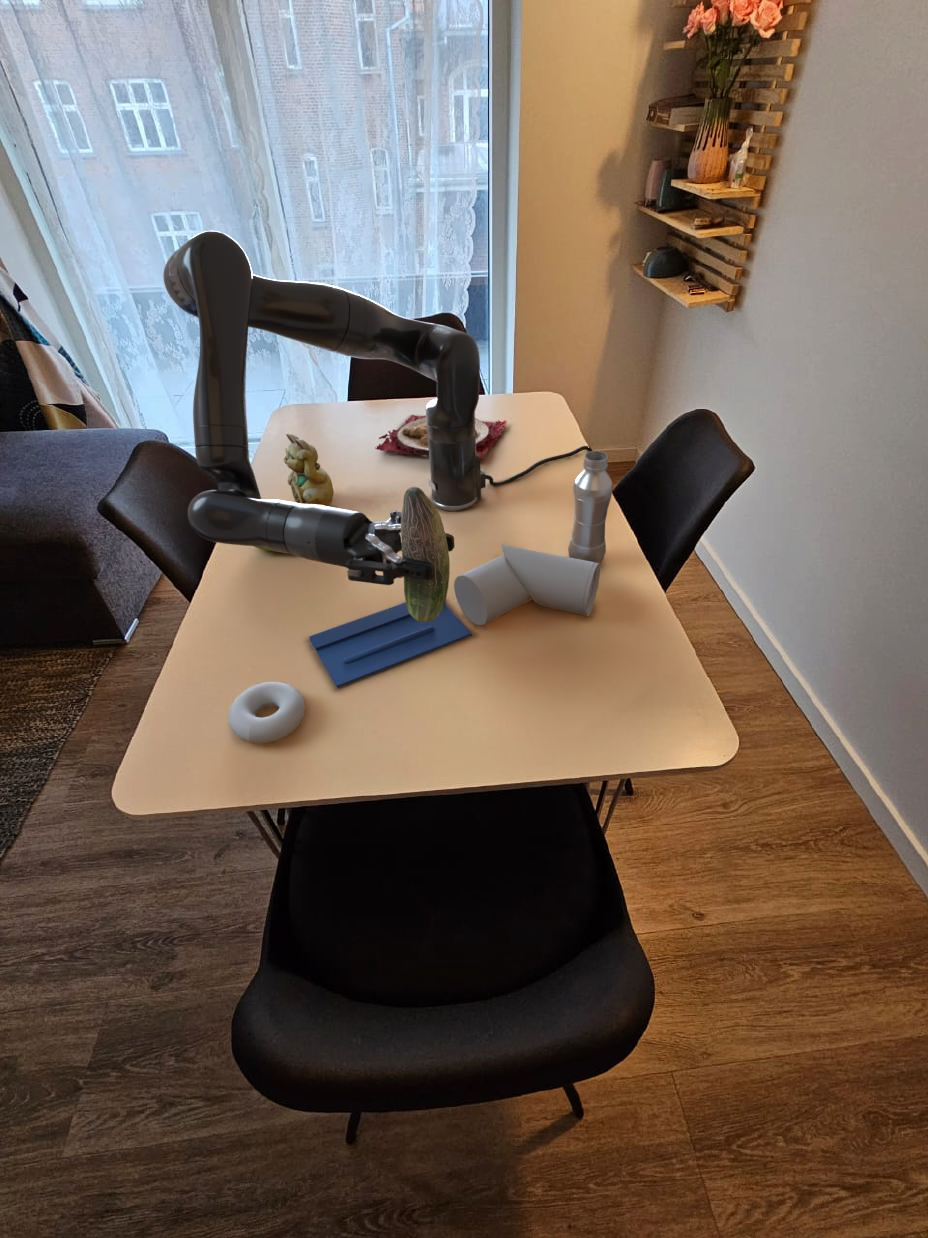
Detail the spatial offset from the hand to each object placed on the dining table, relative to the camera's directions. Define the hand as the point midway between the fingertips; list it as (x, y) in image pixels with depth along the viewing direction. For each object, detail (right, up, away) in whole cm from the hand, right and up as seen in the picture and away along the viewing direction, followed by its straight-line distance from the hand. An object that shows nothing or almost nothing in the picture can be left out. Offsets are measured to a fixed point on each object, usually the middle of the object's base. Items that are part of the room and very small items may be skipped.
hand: (443, 557), depth 82 cm
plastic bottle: (+24, +2, +32) cm, 40 cm away
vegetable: (-2, -8, +8) cm, 11 cm away
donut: (-24, -22, +6) cm, 33 cm away
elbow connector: (+14, -6, +23) cm, 27 cm away
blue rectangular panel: (-9, -11, +18) cm, 23 cm away
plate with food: (-2, +35, +75) cm, 83 cm away
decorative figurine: (-28, +16, +52) cm, 61 cm away
